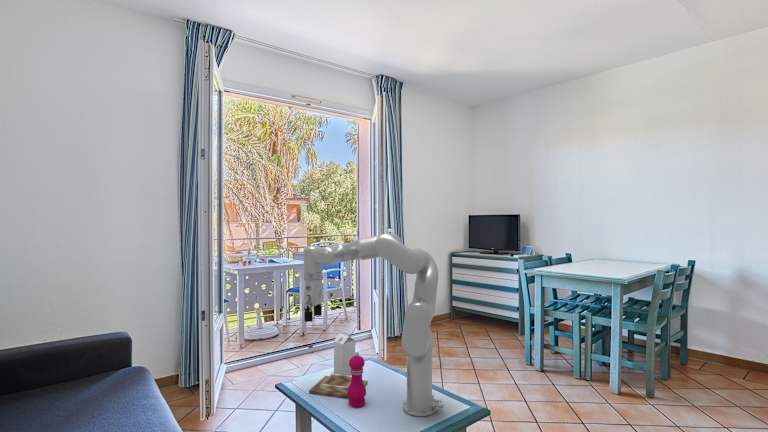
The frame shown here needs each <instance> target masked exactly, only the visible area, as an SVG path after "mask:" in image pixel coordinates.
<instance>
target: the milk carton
mask: <svg viewBox="0 0 768 432" xmlns="http://www.w3.org/2000/svg"><path fill="white" fill-rule="evenodd" d="M355 352H356V341H355V339H354V338H352V337H351V336H350V333H348V332H345V331H343V330H339V333H338V335H337V336H336V337H335V339H334V340H333V374H340V375H349V376H352V374H351V373H350V371H351V370H350V369H351V367H350V366H349V361H350V359H351V358H352V357H353V356H355Z"/></svg>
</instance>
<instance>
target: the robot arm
mask: <svg viewBox="0 0 768 432" xmlns="http://www.w3.org/2000/svg"><path fill="white" fill-rule="evenodd" d="M376 258H382V259H384V260H385V261H386V262H387V263H390V265H392V266H394V267H395V268H397V269H398V270H400V271H402V272H403V273H405V274H408V275H415V277H416V278H415V282H414V291H413V297H412V301H411V302H410V303H409V304H408V305H407V307H406V310H405V313H404V319H403V325H402V334H401V348H402V351H403V353H404V354H405V355H406V400H405V401H404V402H403V403H402V410H403V412H405V413H406V414H408V415H410V416H415V417H428V416H431V415H433V414H434V413H436V411H437V409H444V408H445V402H442V399H436V398H435V395H434V394H433V350H434V334H433V332H432V329H431V323H432V320H433V319H434V316H435V314H436V304H437V293H438V285H439V283H438V282H439V269H438V266H437V262H436V261H435V259H434V257H433V256H432V255H431V254H430V253H429V252H427V251H426V250H424V249H422V248H421V249H420V248H414V249H412V248H410V247H408V246H407V245H405V244H404V243H402V239H401V237H400V236H399V235H398V234H396V233H393V232H392V233H391V232H390V233H382V234H378V235H372V236H368V237H362V238H361V237H360V238H358V239H357V240H355V241H354V240H353V241H350V242H344V243H341V244H335V245H334V244H333V245H332V244H331V245H327V246H318V245H309V246H305V247H304V248H303V281H304V286H303V287H304V288H303V302H302V304H303V312H304V320H303V321H304V322H308V323H309V322H310V323H311V322H313V321H314V320H313V318H314V317H313V316H317V317H321V316H322V309H323V307H322V305H323V302H324V286H323V284H324V283H323V266H332V265H334V264H335V265H336V264H339V263H343V262H349V261H350V262H351V261H355V260H360V261H361V260H362V261H367V260H372V259H376ZM312 310H313V311H312Z"/></svg>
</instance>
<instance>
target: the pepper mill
mask: <svg viewBox="0 0 768 432" xmlns="http://www.w3.org/2000/svg"><path fill="white" fill-rule="evenodd" d="M365 362H366V361H365V359H364V357H363V356H361V355H360V353H359V352H358V351H355V356H353V357H352V358H351V359H350V361H349V366H350V367H351V369H350V370H351V371H350V373H351V376H352V380H351V383H350V385H349V388H348V397H349V399H348V405H349V407H352V408H358V409H359V408H362V407H364V406H365V404H366V398H365V397H366V395H367V389H366V386H365V385H364V383H363V374H364V366H365V365H366V363H365Z"/></svg>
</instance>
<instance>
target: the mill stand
mask: <svg viewBox="0 0 768 432" xmlns="http://www.w3.org/2000/svg"><path fill="white" fill-rule="evenodd" d="M351 380H352V375H340V374H336V373H331V374H330V375H325V376H324V377H323V378H321V379H320V380H319V381H318V382H316V384H314V385H313V386H312V387H311V388H310V389H309V390H308V394H310V395H316V396H322V397H323V396H324V397H331V398H336V399H338V398H339V399H347V400H349V397H348V388H349V385H350V383H351ZM362 380H363V379H362ZM363 383H364V385H365V387H367V385H368V384H369V383H368V380H363Z"/></svg>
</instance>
